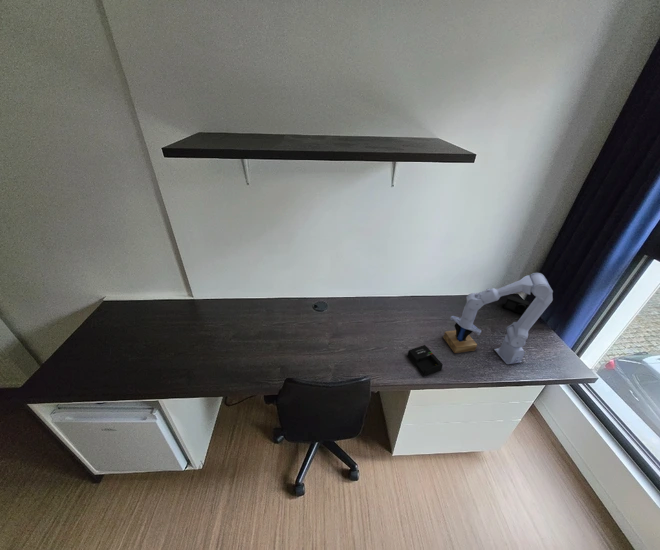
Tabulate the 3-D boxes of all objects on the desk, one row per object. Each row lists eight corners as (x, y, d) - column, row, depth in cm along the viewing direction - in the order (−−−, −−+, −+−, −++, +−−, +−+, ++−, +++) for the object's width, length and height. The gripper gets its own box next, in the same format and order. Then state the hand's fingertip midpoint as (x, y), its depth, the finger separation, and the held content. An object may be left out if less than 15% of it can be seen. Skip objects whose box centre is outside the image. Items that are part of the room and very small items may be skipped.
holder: (475, 350, 142) (477, 344, 140) (454, 353, 140) (456, 347, 138) (462, 334, 151) (464, 329, 149) (443, 337, 150) (444, 331, 147)
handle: (463, 341, 145) (468, 328, 140) (460, 344, 143) (465, 330, 138) (458, 338, 147) (462, 325, 142) (455, 341, 145) (460, 327, 140)
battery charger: (407, 355, 139) (408, 349, 137) (423, 350, 142) (425, 344, 140) (423, 376, 129) (425, 370, 126) (441, 370, 132) (443, 364, 130)
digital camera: (503, 309, 170) (507, 299, 166) (504, 304, 174) (508, 295, 170) (523, 315, 165) (528, 306, 161) (524, 310, 169) (528, 301, 165)
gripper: (487, 320, 134) (478, 341, 141) (458, 305, 143) (451, 326, 150) (480, 327, 130) (472, 348, 137) (450, 311, 139) (444, 332, 146)
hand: (460, 337), depth 144 cm, fingers closed on handle, 3 cm apart
